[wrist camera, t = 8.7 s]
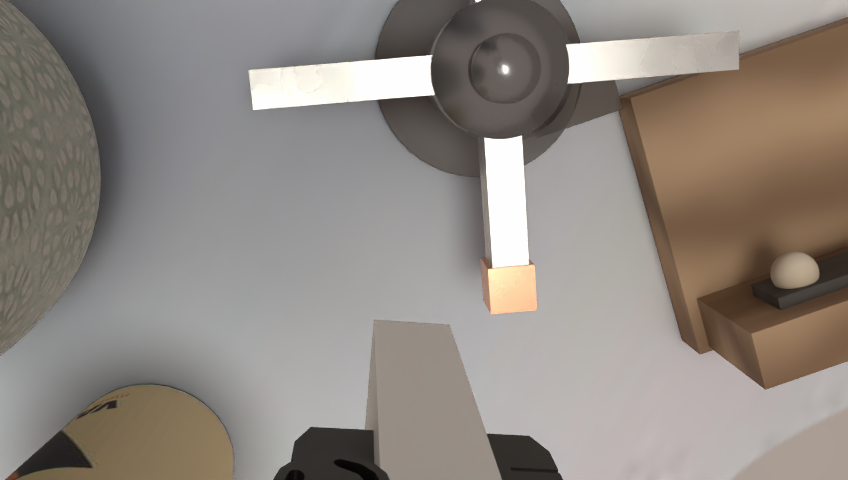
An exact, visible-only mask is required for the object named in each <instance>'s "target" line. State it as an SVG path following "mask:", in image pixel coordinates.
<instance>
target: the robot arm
mask: <svg viewBox="0 0 848 480" xmlns="http://www.w3.org/2000/svg"><path fill="white" fill-rule="evenodd" d="M273 480H563V479H562V477H561V475H560V473H558V469H557V467H556V465H555V462H554V460H553V458H552V456H551V454H550V452H549V451H548V450H546V449H545V448H544V447H543V446H541V445H540V444H539V443H538V442H536V441H535V440H534V439H533V438H531V437H530V436H521V435H502V434H486V431H485V428H484V425H483V422H482V419H481V416H480V413H479V410H478V407H477V405H476V402H475V399H474V396H473V393H472V390H471V387H470V384H469V381H468V378H467V375H466V372H465V369H464V366H463V363H462V360H461V357H460V354H459V351H458V349H457V346H456V343H455V340H454V337H453V334H452V331H451V328H450V325H446V324H430V323H415V322H400V321H384V320H374V326H373V338H372V350H371V362H370V374H369V386H368V398H367V410H366V422H365V430H358V429H339V428H319V427H310V428H309V429H308V430H307V431H306V432H305V433H304V434H303V435H301V436H300V437H299V438H298V439H297V440H296V441H295V443H294V448H293V453H292V459H291V462H290V463H288V464H286V465H285V466H283V467H281V468H280V469H279V471H278V473H277V474H276V476H275V478H274V479H273Z"/></svg>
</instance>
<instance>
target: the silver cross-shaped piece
mask: <svg viewBox="0 0 848 480" xmlns="http://www.w3.org/2000/svg"><path fill="white" fill-rule="evenodd" d="M738 69H739V31H729V32H717V33H705V34H692V35H680V36H667V37H655V38H642V39H630V40H617V41H605V42H593V43H580V44H570V41H569V38H568V36H567V34H566V32H565V30H564V28H563V27H562V25H561V24H560V23H559V21H558V20H557V19H556V18H555V17H554V16H553V15H552V14H551V13H550V12H549V11H548V10H547V9H545V8H544V7H543V6H541V5H539V4H538V3H536V2H534V1H532V0H469V4H468V5H466V6H465V7H463V8H462V9H461V10H459V11H458V12H457V13H456V14H454V15H453V16H452V17H451V18H450V19H449V20H448V21H447V23H445V24H444V25H443V26H442V27H441V28H440V29H439V30H438V32H437V33H436V34H435V36H434V37H433V39H432V41H431V43H430V45H429V47H428V50H427V52H426V56H418V57H406V58H393V59H381V60H368V61H356V62H344V63H331V64H319V65H306V66H294V67H281V68H269V69H256V70H249V79H250V87H251V95H252V103H253V110H257V109H269V108H281V107H293V106H305V105H317V104H329V103H341V102H353V101H365V100H377V99H389V98H401V97H413V96H425V95H428V96H429V98H430V100H431V102H432V104H433V106H434V107H435V108H436V110H437V111H438V112H439V113H440V114H441V115H442V116H443V117H444V118H445V119H446V120H447V121H449V122H450V123H451V124H453V125H454V126H456V127H457V128H458V129H459V130H461V131H463V132H464V133H466V134H468V135H470V136H472V137H474V138H477V139H478V147H479V162H480V178H481V193H482V208H483V223H484V238H485V253H486V257H484V258H481V272H482V286H483V300H484V302H485V304H486V306H487V308H488V310H489V311H490V313H491V314H499V313H509V312H519V311H530V310H537V302H536V283H535V265H534V264H533V263H532V262H531V260H530V259H529V258H528V240H527V222H526V203H525V185H524V167H523V148H522V140H523V139H526V138H528V137H530V136H533V135H535V134H536V133H538V132H540V131H541V130H543V129H544V128H545V127H546V126H548V125H549V124H550V123H551V122H552V121H553V120H554V119H555V118H556V117H557V115H558V114H559V113H560V111H561V110H562V108H563V107H564V105H565V103H566V101H567V99H568V97H569V94H570V91H571V88H572V84H573V83H582V82H594V81H606V80H618V79H630V78H642V77H654V76H666V75H678V74H690V73H702V72H714V71H726V70H738Z"/></svg>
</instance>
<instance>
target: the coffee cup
mask: <svg viewBox="0 0 848 480" xmlns="http://www.w3.org/2000/svg"><path fill="white" fill-rule="evenodd" d="M233 472H234V456H233V449H232V445H231V441H230V439H229V436H228V434H227V432H226V429H225V427H224V426H223V424H222V423H221V421H220V420H219V418H218V417H217V416H216V415H215V414H214V413H213V411H212V410H210V408H208V407H207V406H206V405H205V404H204V403H202V402H201V401H199V400H198V399H197V398H195V397H193V396H192V395H189V394H187V393H185V392H183V391H181V390H177V389H174V388H171V387H168V386H161V385H134V386H128V387H124V388H121V389H118V390H115V391H113V392H110V393H108V394H106V395H104V396H103V397H101V398H99V399H98V400H96V401H95V402H94V403H92V404H91V405H90V406H89V407H87V408H86V409H85V410H84V411H82V412H81V413H80V414H79V415H77V416H76V417H75V418H74V419H73V420H72V421H71V422H70V423H68V424H67V425H66V426H65V427H64V428H63V429H62V430H61V431H59V432H58V433H57V434H56V435H55V436H54V437H53V438H52V439H50V440H49V441H48V442H47V443H46V444H45V445H44V446H43V447H41V448H40V449H39V450H38V451H37V452H36V453H35V454H34V455H32V456H31V457H30V458H29V459H28V460H27V461H26V462H25V463H23V464H22V465H21V466H20V467H19V468H18V469H17V470H16V471H14V472H13V473H12V474H11V475H10V476H9V477H8V478H7V479H5V480H232V479H233Z"/></svg>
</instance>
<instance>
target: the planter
mask: <svg viewBox="0 0 848 480" xmlns="http://www.w3.org/2000/svg"><path fill="white" fill-rule="evenodd" d="M100 189H101V169H100V157H99V150H98V144H97V139H96V134H95V130H94V126H93V123H92V120H91V116H90V113H89V111H88V108H87V105H86V103H85V100H84V98H83V96H82V93H81V91H80V89H79V87H78V85H77V83H76V81H75V80H74V78H73V76H72V74H71V72H70V71H69V69H68V67H67V66H66V64H65V63H64V61H63V60H62V58H61V57H60V56H59V54H58V53H57V51H56V50H55V49H54V47H53V46H52V45H51V44H50V42H49V41H48V40H47V39H46V37H45V36H44V35H43V34H42V33H41V32H40V31H39V29H38V28H37V27H36V26H35V25H34V24H33V23H32V22H31V21H30V20H29V19H28V18H27V17H26V16H25V15H24V14H23V13H22V12H20V11H19V10H18V9H17V8H16V7H15V6H14V5H12V4H11V3H10V2H9V1H7V0H0V356H1V355H2V354H3V353H4V352H6V351H7V350H8V349H9V348H11V347H12V346H13V345H14V344H16V343H17V342H18V341H19V340H20V339H21V338H23V337H24V336H25V335H26V334H27V333H28V332H29V331H30V330H31V329H32V328H33V327H34V326H35V325H36V324H37V323H38V321H39V320H40V319H41V318H42V317H43V316H44V315H45V314H46V313H47V312H48V311H49V310H50V309H51V308H52V306H53V305H54V304H55V303H56V302H57V300H58V299H59V298H60V297H61V295H62V294H63V293H64V291H65V290H66V288H67V287H68V285H69V284H70V282H71V280H72V279H73V277H74V275H75V274H76V272H77V270H78V268H79V267H80V265H81V263H82V261H83V258H84V256H85V254H86V252H87V249H88V246H89V244H90V241H91V238H92V235H93V231H94V227H95V223H96V219H97V213H98V208H99V201H100Z"/></svg>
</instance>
